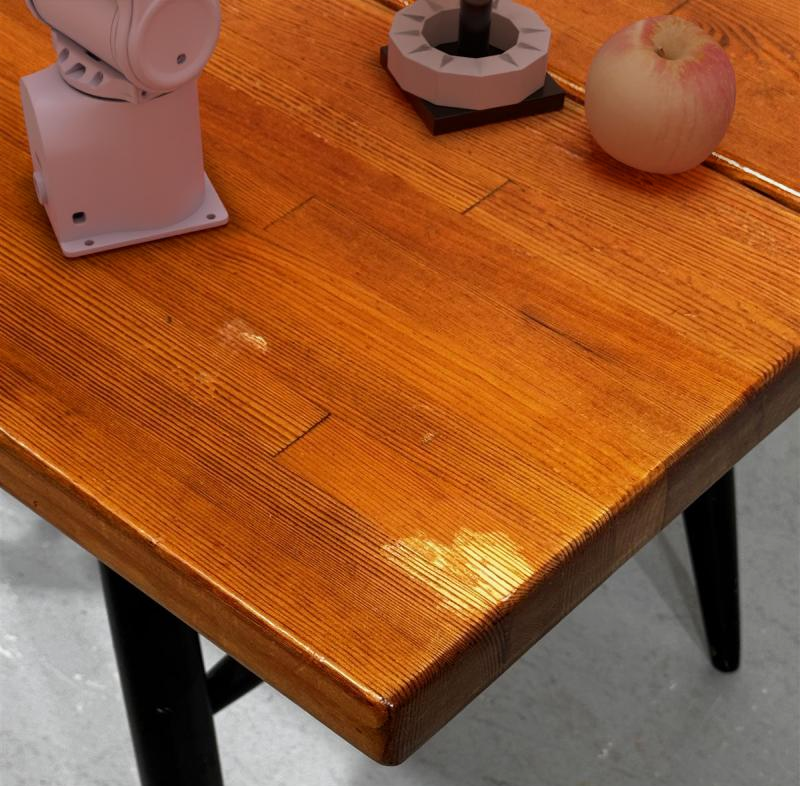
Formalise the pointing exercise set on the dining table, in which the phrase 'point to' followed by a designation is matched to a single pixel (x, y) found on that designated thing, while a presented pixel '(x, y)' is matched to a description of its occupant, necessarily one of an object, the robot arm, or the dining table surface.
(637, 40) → the apple
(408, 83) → the tape roll
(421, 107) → the black peg stand
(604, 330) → the dining table surface
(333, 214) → the dining table surface
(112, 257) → the dining table surface
